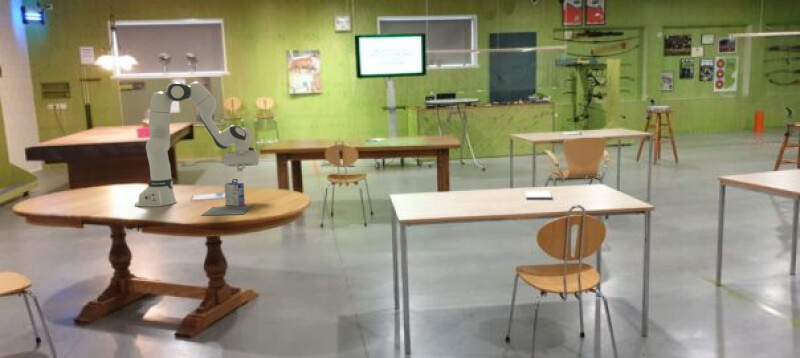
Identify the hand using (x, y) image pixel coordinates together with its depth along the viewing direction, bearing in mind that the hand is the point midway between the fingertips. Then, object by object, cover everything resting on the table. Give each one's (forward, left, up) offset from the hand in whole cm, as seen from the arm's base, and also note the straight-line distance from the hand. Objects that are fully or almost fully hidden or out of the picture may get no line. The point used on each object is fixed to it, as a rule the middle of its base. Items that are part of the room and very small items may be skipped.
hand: (239, 171), depth 370 cm
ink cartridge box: (0, -14, -17) cm, 22 cm away
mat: (0, -30, -17) cm, 34 cm away
